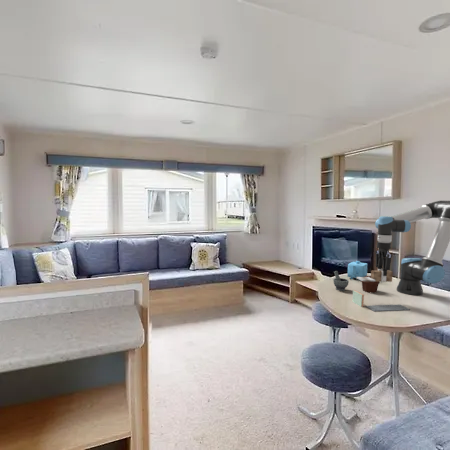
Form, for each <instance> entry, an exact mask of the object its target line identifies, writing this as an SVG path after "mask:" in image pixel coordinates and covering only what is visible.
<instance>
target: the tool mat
mask: <svg viewBox="0 0 450 450" xmlns="http://www.w3.org/2000/svg"><path fill="white" fill-rule="evenodd" d="M365 306H366V308H367V309H369V310H370V311H373V312H391V311H393V312H394V311H395V312H396V311H397V312H398V311H410V310H411V309H410V308H408V307H406V306H404V305H402V304H380V305H379V304H378V305H376V304H375V305H371V304H370V305H365Z"/></svg>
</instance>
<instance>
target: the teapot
mask: <svg viewBox="0 0 450 450" xmlns="http://www.w3.org/2000/svg"><path fill="white" fill-rule="evenodd" d="M365 276H368V263H366V262H361V261H360V260H355V261H351V262H350V263H348V264H347V278H349V279H350V280H354V279H357V277H365Z"/></svg>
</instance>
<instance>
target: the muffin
mask: <svg viewBox="0 0 450 450" xmlns="http://www.w3.org/2000/svg"><path fill="white" fill-rule="evenodd" d="M365 277H370V278H371V275H367V276H365ZM360 282H361V289H362V291H363V292H366V293H370V292H371V293H378V288H379V284H380V283H381V282H380V281H361V280H360Z"/></svg>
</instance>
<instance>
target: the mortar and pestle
mask: <svg viewBox="0 0 450 450" xmlns="http://www.w3.org/2000/svg"><path fill="white" fill-rule="evenodd" d="M333 274H334V276H335V277H334V278H333V279H332V280H333V284H334V286H335V290H336V291H340V292H345V291H346V288H347V287H348V286H349V279H346V278H341V277H340V275H339V271H338V270H335V271H333Z"/></svg>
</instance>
